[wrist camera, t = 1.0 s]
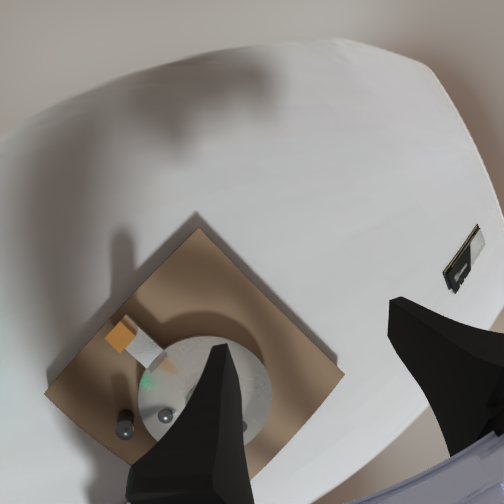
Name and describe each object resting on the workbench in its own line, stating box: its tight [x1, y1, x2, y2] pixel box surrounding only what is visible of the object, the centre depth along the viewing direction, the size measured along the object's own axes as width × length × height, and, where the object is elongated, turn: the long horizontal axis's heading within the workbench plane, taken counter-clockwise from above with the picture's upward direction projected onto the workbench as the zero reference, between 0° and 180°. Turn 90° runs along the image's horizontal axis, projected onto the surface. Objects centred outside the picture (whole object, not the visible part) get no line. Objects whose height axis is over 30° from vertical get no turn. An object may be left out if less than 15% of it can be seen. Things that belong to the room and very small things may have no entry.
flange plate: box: [104, 313, 272, 445], centre depth 21 cm, size 15×11×5 cm
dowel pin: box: [115, 409, 134, 440], centre depth 20 cm, size 1×1×3 cm
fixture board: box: [44, 228, 345, 480], centre depth 25 cm, size 20×20×2 cm
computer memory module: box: [443, 224, 485, 294], centre depth 39 cm, size 15×1×4 cm
